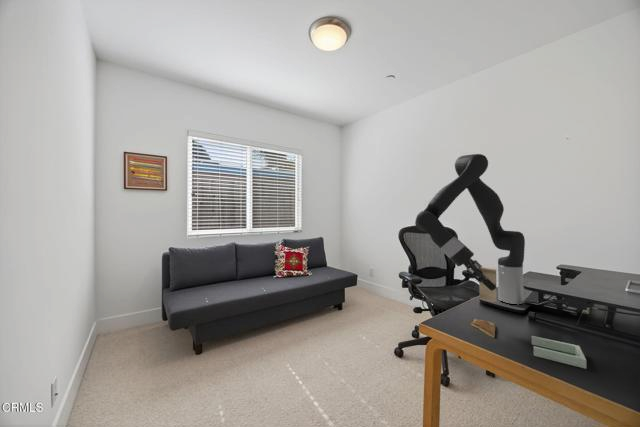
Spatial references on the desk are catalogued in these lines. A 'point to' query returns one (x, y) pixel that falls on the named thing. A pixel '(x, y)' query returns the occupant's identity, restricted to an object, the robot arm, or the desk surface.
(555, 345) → the tray
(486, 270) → the oak block
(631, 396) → the desk surface
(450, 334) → the desk surface
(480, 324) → the shard
